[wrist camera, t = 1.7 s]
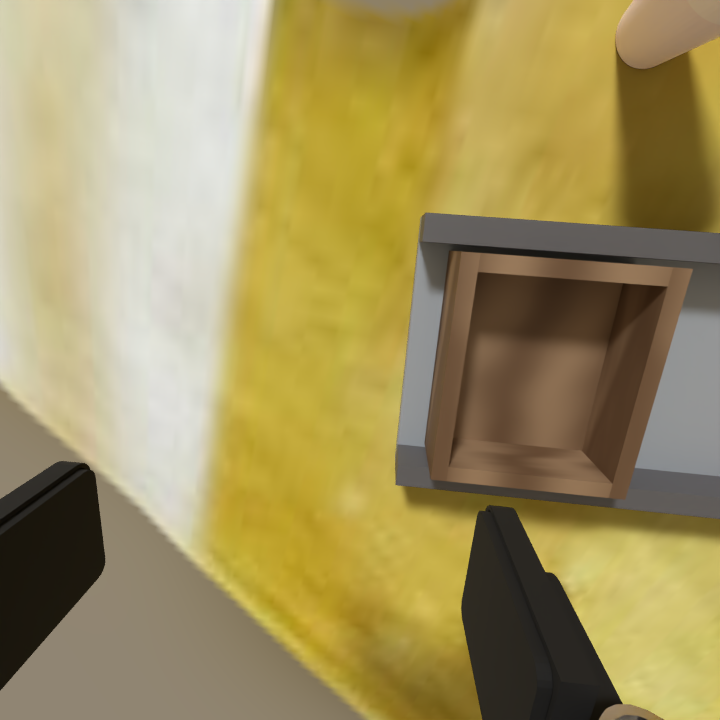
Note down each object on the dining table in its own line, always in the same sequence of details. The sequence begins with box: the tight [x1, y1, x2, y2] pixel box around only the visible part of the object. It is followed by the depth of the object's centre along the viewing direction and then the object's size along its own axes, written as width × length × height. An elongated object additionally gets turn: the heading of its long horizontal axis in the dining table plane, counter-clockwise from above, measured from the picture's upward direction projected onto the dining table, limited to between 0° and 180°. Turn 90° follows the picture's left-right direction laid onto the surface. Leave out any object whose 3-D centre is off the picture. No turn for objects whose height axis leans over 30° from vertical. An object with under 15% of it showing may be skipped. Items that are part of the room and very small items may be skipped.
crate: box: [424, 251, 693, 500], centre depth 26 cm, size 12×14×5 cm
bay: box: [395, 213, 720, 519], centre depth 27 cm, size 28×18×5 cm, turn 86°
